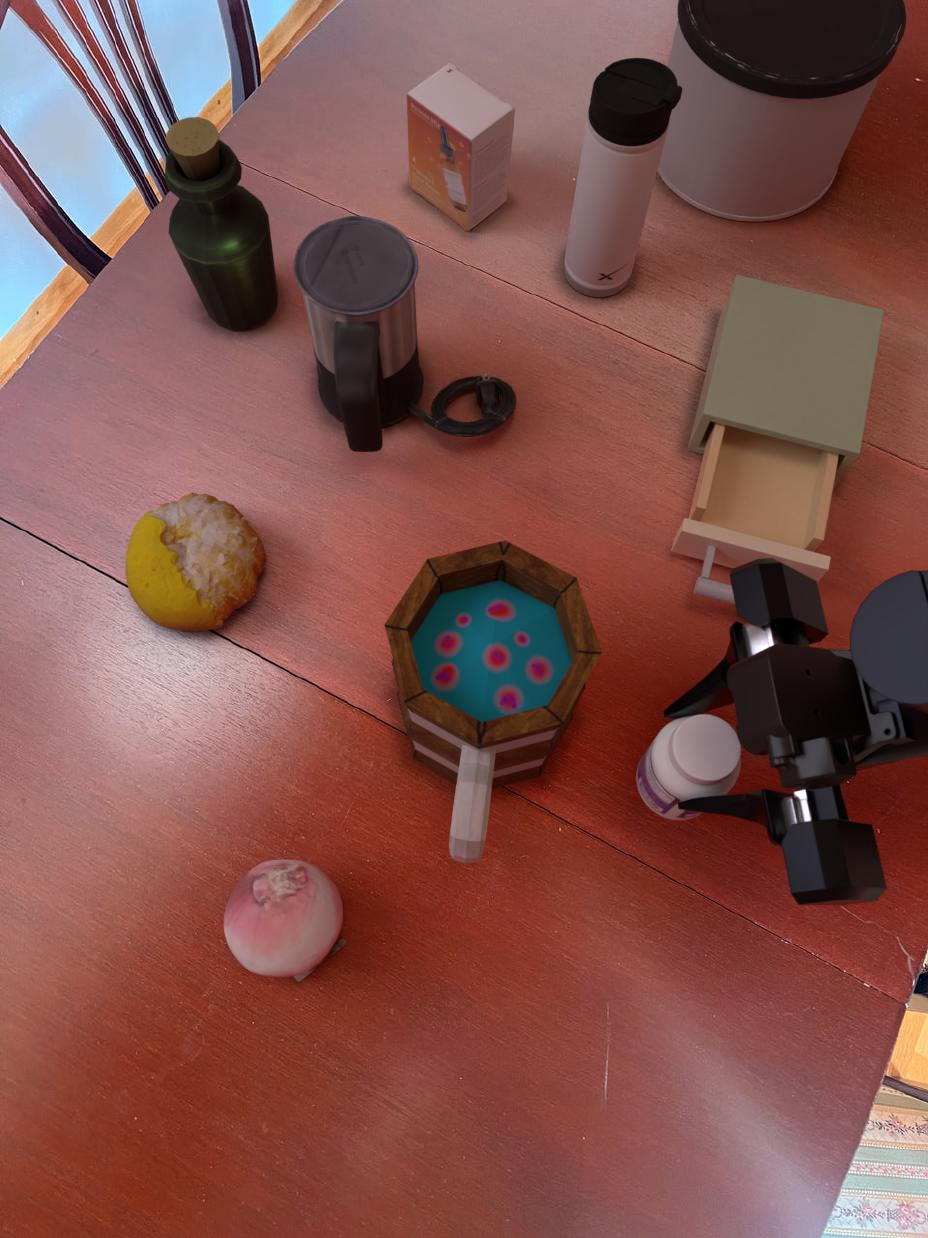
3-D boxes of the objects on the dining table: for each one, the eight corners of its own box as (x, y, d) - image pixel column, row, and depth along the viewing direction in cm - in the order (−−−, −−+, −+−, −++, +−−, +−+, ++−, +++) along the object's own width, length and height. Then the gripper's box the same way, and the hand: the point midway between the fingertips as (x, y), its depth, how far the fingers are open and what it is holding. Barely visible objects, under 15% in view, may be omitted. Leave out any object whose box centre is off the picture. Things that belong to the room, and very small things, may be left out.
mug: (410, 613, 75) (400, 527, 61) (580, 634, 75) (610, 552, 61) (369, 866, 68) (348, 833, 54) (557, 891, 68) (584, 865, 54)
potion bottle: (210, 261, 88) (153, 88, 71) (296, 273, 88) (259, 102, 71) (186, 333, 85) (121, 170, 68) (276, 345, 85) (232, 185, 68)
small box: (408, 188, 92) (403, 91, 82) (449, 157, 93) (448, 58, 83) (468, 234, 90) (471, 140, 80) (509, 201, 91) (516, 105, 81)
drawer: (802, 637, 74) (820, 619, 71) (659, 597, 75) (669, 578, 72) (836, 449, 80) (854, 424, 77) (703, 415, 82) (715, 388, 78)
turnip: (350, 865, 68) (339, 851, 62) (348, 980, 65) (336, 979, 59) (238, 867, 68) (215, 853, 61) (231, 983, 65) (205, 982, 59)
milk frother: (306, 354, 84) (278, 229, 70) (475, 311, 86) (480, 181, 72) (349, 490, 79) (328, 384, 66) (528, 440, 81) (544, 328, 68)
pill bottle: (716, 748, 65) (756, 709, 56) (712, 826, 63) (753, 799, 54) (636, 737, 65) (664, 696, 56) (630, 815, 63) (658, 785, 54)
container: (611, 118, 95) (638, -33, 81) (766, 56, 99) (819, -98, 85) (716, 250, 89) (765, 112, 75) (878, 180, 93) (953, 35, 79)
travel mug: (615, 310, 87) (661, 122, 68) (551, 281, 88) (578, 88, 69) (645, 262, 89) (697, 68, 70) (581, 234, 90) (616, 35, 71)
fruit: (278, 632, 74) (226, 598, 67) (159, 653, 77) (96, 622, 69) (276, 503, 78) (227, 458, 71) (163, 527, 81) (104, 486, 73)
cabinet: (833, 488, 80) (860, 453, 75) (686, 450, 81) (703, 413, 76) (858, 351, 85) (884, 309, 80) (719, 317, 86) (736, 273, 81)
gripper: (825, 481, 46) (572, 588, 56) (922, 880, 39) (615, 921, 49) (914, 542, 53) (677, 627, 63) (1009, 886, 47) (727, 920, 57)
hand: (674, 759), depth 58 cm, fingers closed on pill bottle, 5 cm apart
